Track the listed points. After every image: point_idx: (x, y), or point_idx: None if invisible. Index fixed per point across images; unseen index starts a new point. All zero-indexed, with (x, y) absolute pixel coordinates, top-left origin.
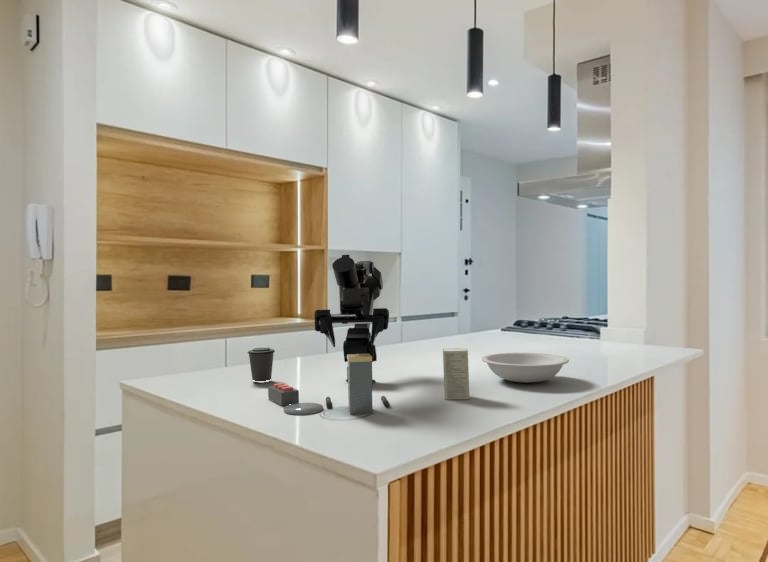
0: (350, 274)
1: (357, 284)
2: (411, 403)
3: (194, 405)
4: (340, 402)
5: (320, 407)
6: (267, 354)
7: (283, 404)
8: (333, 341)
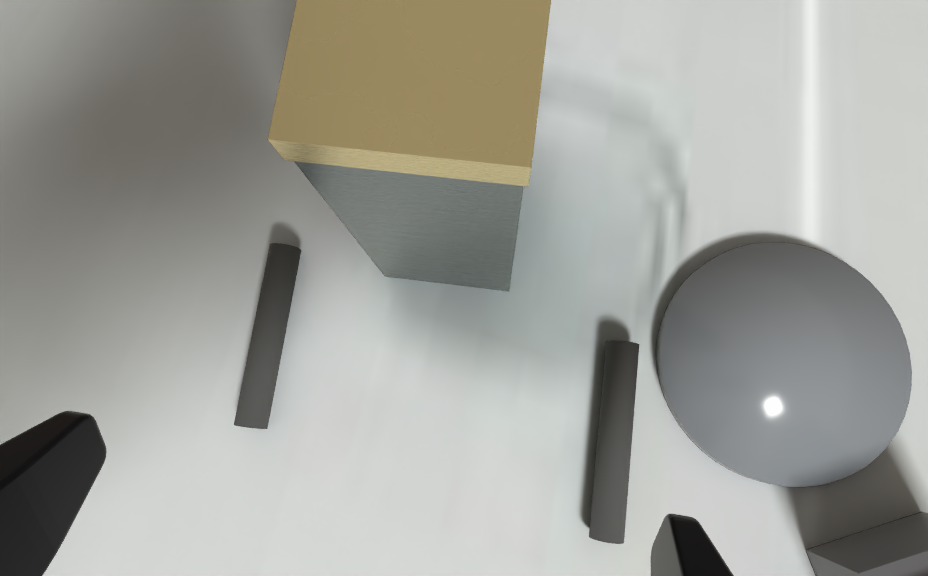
0: None
1: None
2: (127, 304)
3: None
4: (526, 482)
5: (678, 319)
6: None
7: (916, 517)
8: (708, 562)
